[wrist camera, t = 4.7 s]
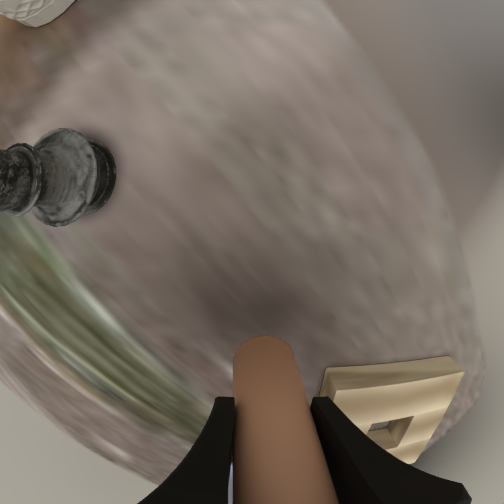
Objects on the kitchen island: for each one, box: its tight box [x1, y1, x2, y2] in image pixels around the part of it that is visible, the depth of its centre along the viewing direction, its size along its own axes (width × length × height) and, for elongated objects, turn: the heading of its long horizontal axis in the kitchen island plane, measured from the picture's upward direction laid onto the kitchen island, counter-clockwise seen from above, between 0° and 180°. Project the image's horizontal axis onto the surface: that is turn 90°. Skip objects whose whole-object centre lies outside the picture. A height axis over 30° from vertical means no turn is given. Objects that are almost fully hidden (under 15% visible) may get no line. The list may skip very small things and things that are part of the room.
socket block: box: [319, 356, 465, 464], centre depth 22 cm, size 13×13×3 cm
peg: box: [232, 336, 339, 504], centre depth 9 cm, size 3×3×10 cm
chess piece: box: [0, 128, 116, 227], centre depth 12 cm, size 6×6×12 cm
